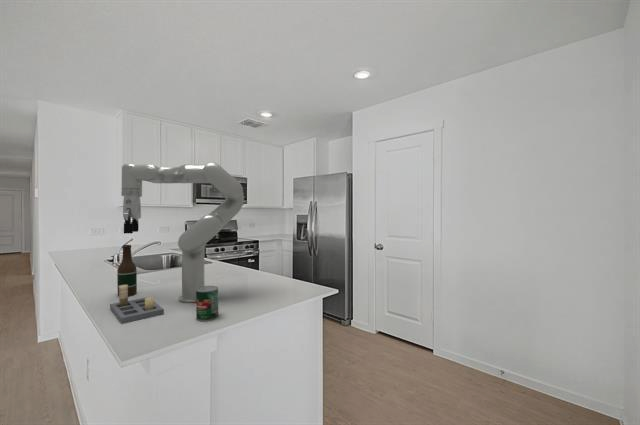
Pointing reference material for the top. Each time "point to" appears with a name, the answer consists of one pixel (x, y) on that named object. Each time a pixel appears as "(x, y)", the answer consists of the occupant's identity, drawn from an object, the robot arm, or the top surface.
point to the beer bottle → (127, 272)
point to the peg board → (136, 310)
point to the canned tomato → (207, 303)
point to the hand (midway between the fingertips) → (131, 232)
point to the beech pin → (123, 295)
